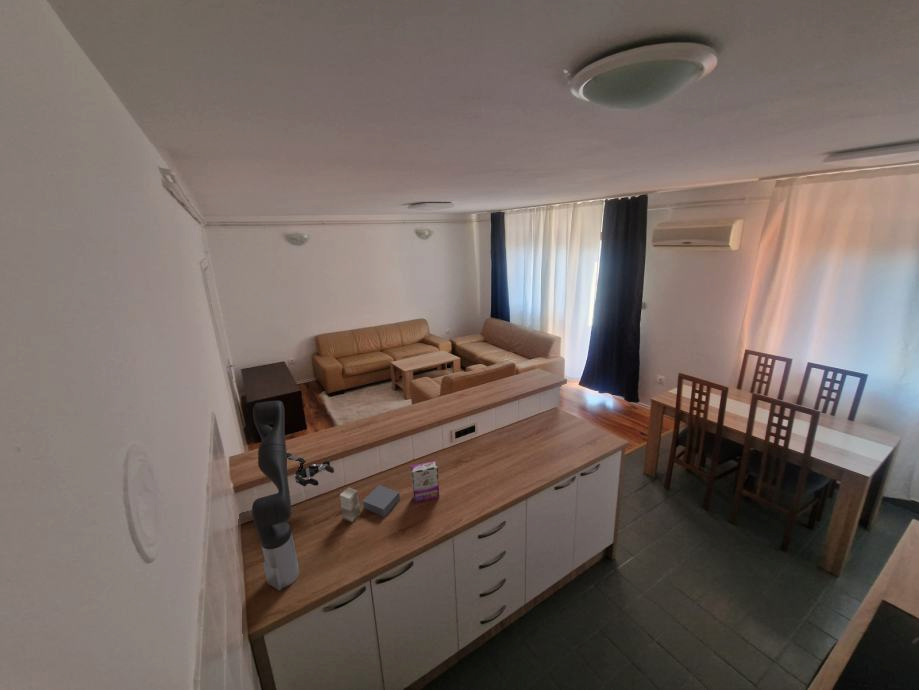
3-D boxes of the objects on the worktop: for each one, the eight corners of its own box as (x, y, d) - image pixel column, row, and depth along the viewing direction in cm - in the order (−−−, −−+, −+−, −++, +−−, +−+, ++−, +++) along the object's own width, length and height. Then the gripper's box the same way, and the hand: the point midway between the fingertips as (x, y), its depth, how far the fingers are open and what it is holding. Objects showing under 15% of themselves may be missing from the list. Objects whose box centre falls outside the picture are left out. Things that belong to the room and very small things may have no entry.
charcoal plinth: (384, 517, 151) (383, 509, 149) (363, 508, 155) (362, 500, 154) (399, 499, 160) (399, 492, 159) (379, 492, 165) (379, 484, 163)
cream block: (352, 522, 148) (349, 498, 144) (343, 518, 150) (339, 494, 146) (360, 514, 152) (357, 490, 148) (351, 510, 154) (348, 487, 151)
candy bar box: (437, 490, 165) (435, 460, 160) (439, 498, 160) (438, 467, 155) (412, 495, 162) (410, 465, 157) (414, 503, 158) (412, 472, 152)
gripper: (283, 468, 151) (311, 480, 144) (310, 449, 163) (337, 459, 156) (286, 482, 154) (313, 495, 147) (312, 463, 166) (339, 474, 159)
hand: (325, 477), depth 152 cm, fingers open, 8 cm apart
